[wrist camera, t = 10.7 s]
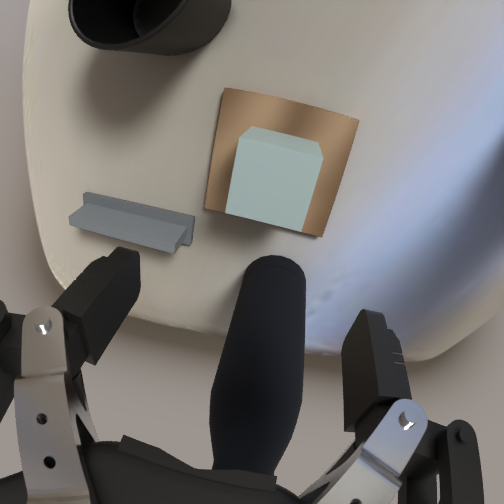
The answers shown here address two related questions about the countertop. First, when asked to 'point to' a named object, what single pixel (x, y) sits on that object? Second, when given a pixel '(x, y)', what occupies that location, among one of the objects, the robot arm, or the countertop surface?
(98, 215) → the grey angle bar
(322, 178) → the coaster
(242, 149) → the letter cube
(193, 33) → the mug
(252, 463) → the wine bottle
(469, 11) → the countertop surface
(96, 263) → the robot arm
